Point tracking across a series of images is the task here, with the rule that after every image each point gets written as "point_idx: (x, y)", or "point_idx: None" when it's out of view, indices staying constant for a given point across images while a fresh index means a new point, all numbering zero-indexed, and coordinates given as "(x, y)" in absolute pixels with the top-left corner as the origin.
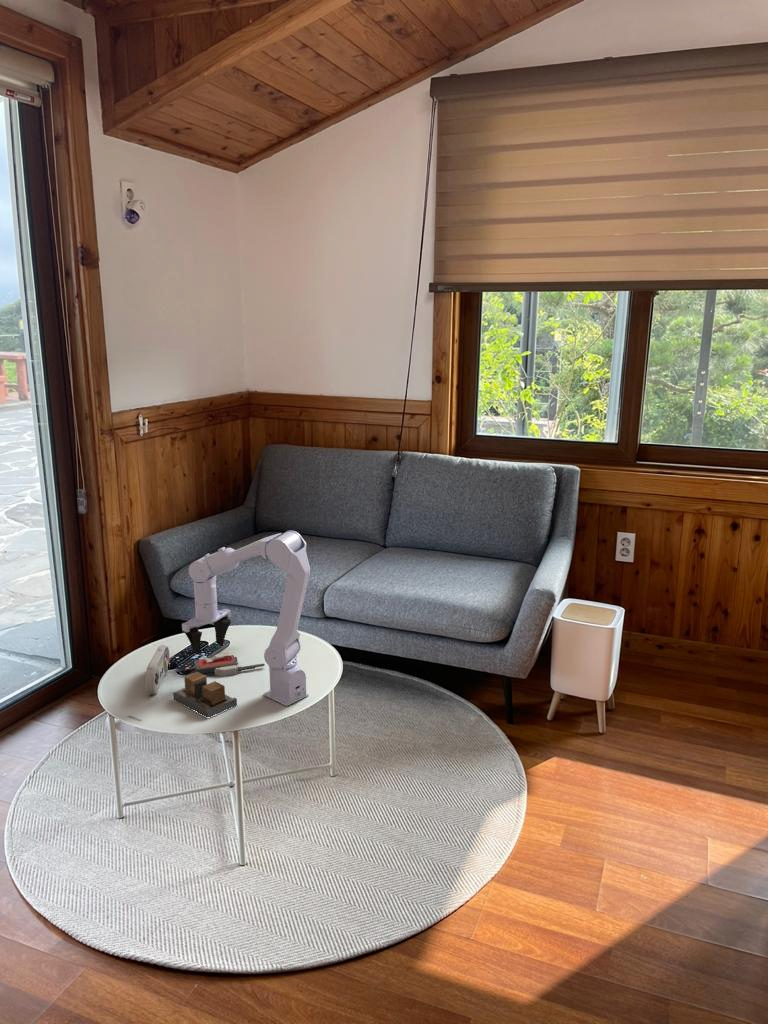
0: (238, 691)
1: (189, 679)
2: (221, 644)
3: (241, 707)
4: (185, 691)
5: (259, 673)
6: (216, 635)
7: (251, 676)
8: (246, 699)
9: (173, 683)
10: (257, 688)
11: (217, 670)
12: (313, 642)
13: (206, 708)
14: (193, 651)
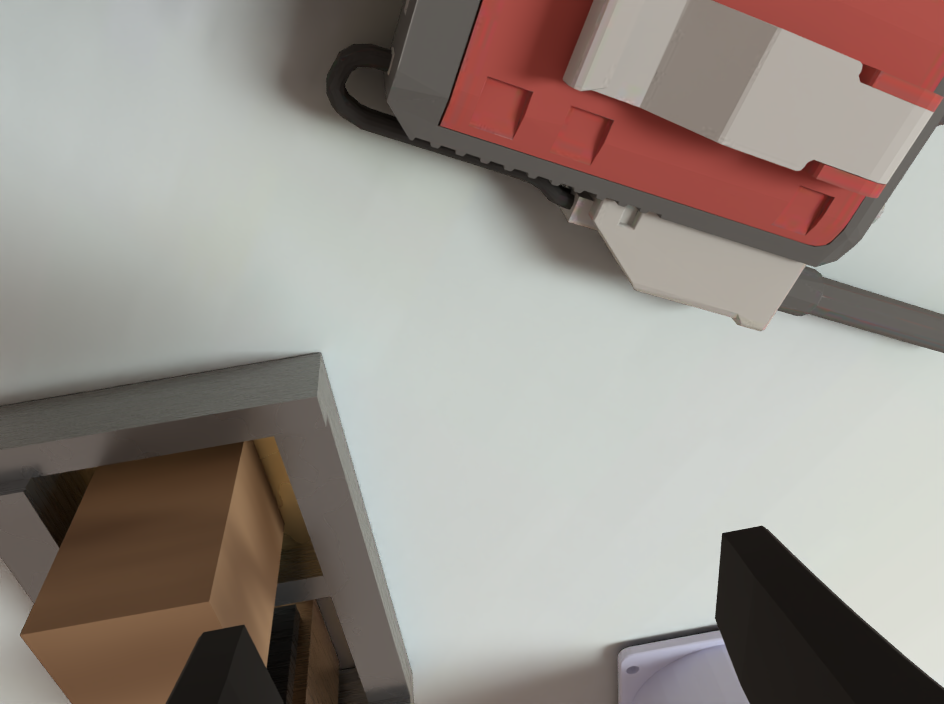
0: (533, 541)
1: (66, 696)
2: (725, 638)
3: (424, 693)
4: (84, 500)
5: (856, 390)
6: (816, 670)
7: (774, 400)
8: (506, 639)
9: (55, 64)
10: (659, 565)
11: (597, 229)
12: None
13: None
14: (192, 654)
